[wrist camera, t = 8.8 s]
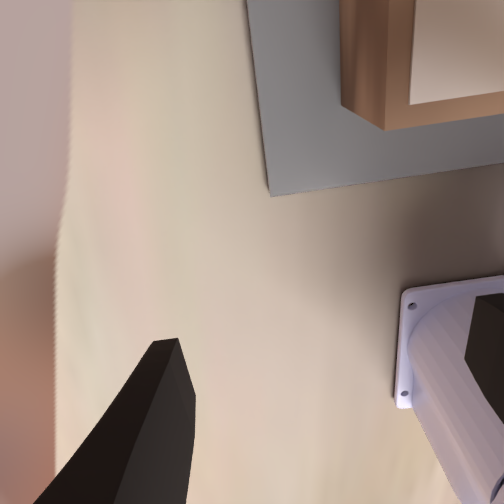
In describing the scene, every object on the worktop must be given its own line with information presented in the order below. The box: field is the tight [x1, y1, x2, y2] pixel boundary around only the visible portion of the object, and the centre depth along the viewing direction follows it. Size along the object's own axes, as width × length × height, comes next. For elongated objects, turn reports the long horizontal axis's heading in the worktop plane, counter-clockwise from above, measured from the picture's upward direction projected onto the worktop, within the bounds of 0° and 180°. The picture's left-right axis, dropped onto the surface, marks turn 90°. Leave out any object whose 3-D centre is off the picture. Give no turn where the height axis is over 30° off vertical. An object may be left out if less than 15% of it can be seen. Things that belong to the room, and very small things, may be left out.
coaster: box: [246, 0, 504, 197], centre depth 15 cm, size 11×11×1 cm
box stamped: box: [339, 0, 504, 131], centre depth 12 cm, size 4×4×5 cm
